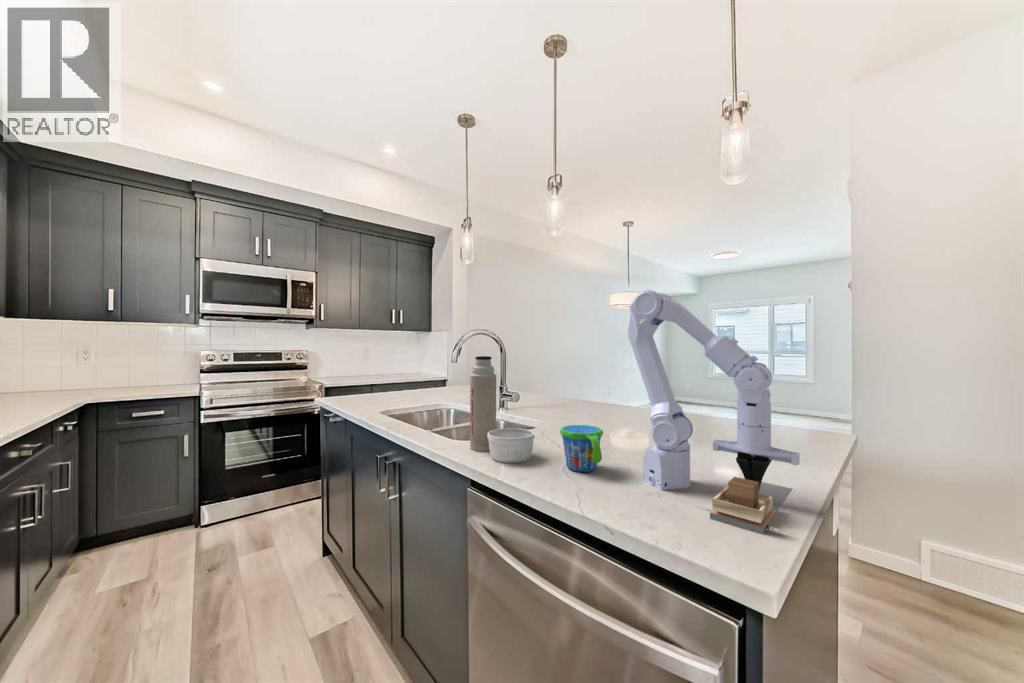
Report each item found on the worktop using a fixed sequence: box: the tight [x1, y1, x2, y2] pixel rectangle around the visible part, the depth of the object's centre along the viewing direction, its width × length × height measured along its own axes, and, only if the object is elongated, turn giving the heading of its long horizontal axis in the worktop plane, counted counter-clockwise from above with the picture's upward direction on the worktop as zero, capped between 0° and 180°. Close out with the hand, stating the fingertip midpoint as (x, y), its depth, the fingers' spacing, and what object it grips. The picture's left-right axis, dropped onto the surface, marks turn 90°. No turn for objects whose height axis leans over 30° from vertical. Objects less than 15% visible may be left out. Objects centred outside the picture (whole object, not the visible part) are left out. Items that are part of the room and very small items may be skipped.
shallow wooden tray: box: [711, 485, 773, 523], centre depth 72 cm, size 9×8×2 cm
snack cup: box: [559, 424, 604, 473], centre depth 100 cm, size 16×10×10 cm
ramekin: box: [487, 427, 535, 464], centre depth 110 cm, size 13×13×7 cm
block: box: [727, 476, 759, 509], centre depth 72 cm, size 4×4×4 cm
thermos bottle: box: [469, 355, 497, 452], centre depth 120 cm, size 8×8×28 cm
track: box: [709, 481, 793, 535], centre depth 78 cm, size 25×8×1 cm, turn 135°
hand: (753, 493), depth 77 cm, fingers closed
